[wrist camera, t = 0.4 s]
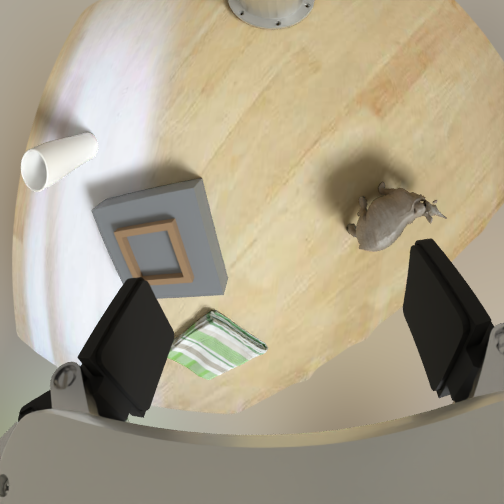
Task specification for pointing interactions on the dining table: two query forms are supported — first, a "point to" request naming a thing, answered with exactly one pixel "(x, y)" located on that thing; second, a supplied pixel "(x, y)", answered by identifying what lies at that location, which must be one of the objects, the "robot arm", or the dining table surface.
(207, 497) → the robot arm
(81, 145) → the white tapered cylinder
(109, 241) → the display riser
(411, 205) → the rhinoceros figurine
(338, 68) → the dining table surface
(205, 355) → the dish towel
